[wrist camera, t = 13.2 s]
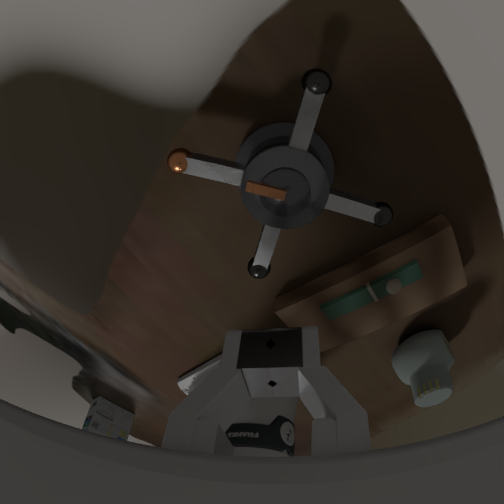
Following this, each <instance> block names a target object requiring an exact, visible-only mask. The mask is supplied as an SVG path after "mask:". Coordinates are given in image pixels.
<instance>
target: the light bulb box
mask: <svg viewBox="0 0 504 504" xmlns="http://www.w3.org/2000/svg"><path fill="white" fill-rule="evenodd" d="M134 416H135V414H133V413H131V412H129V411H127V410H125V409H123V408H121V407H119V406H117V405H115V404H114V403H112V402H110V401H108V400H106V399H105V398H103V397H101V396H99V397H97V398H96V399H94V400H92V403H91V406H90V408H89V411H88V414H87V417H86V419H85V422H84V425H83V428H82V430H86V431H89V432H93V433H96V434H100V435H104V436H108V437H112V438H116V439H120V440H125V441H127V439H128V436H129V432H130V429H131V425H132V422H133V419H134Z"/></svg>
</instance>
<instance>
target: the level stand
mask: <svg viewBox="0 0 504 504" xmlns="http://www.w3.org/2000/svg"><path fill="white" fill-rule="evenodd" d="M466 286H467V281H466V277H465V273H464V268H463V264H462V260H461V257H460V253H459V249H458V245H457V242H456V238H455V235H454V232H453V228H452V225H451V224H450V222H449V221H448V220H447V218H446V217H445V216H444V215H443V213H441V214H439V215H438V216H436V217H434V218H432V219H430V220H429V221H427V222H425V223H423V224H421V225H419V226H418V227H416V228H414V229H412V230H410V231H408V232H406V233H405V234H403V235H401V236H399V237H397V238H395V239H393V240H391V241H389V242H388V243H386V244H384V245H382V246H380V247H378V248H376V249H374V250H372V251H370V252H368V253H366V254H364V255H362V256H360V257H358V258H356V259H354V260H352V261H350V262H348V263H346V264H344V265H342V266H340V267H338V268H336V269H334V270H332V271H330V272H328V273H326V274H324V275H322V276H320V277H318V278H316V279H314V280H312V281H310V282H308V283H305V284H303V285H301V286H299V287H297V288H295V289H293V290H291V291H289V292H286V293H284V294H282V295H280V296H278V297H276V298H275V314H276V315H277V316H278V317H279V318H280V319H281V320H282V321H283V322H284V323H285V324H286V325H287V326H288V327H289V328H292V327H309V326H317V327H318V336H319V350H320V353H321V352H324V351H326V350H329V349H331V348H334V347H337V346H339V345H342V344H344V343H347V342H349V341H352V340H354V339H357V338H359V337H362V336H364V335H366V334H369V333H371V332H373V331H376V330H378V329H380V328H383V327H385V326H387V325H389V324H392V323H394V322H396V321H398V320H400V319H403V318H405V317H407V316H409V315H411V314H413V313H415V312H417V311H419V310H421V309H424V308H426V307H428V306H430V305H432V304H434V303H436V302H438V301H439V300H441V299H443V298H445V297H447V296H449V295H451V294H453V293H455V292H457V291H458V290H460V289H462V288H464V287H466Z"/></svg>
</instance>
